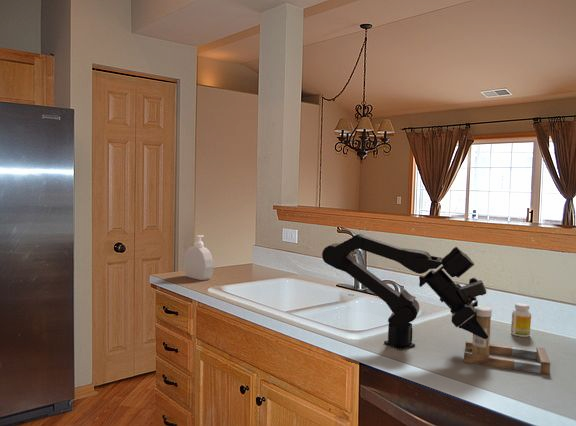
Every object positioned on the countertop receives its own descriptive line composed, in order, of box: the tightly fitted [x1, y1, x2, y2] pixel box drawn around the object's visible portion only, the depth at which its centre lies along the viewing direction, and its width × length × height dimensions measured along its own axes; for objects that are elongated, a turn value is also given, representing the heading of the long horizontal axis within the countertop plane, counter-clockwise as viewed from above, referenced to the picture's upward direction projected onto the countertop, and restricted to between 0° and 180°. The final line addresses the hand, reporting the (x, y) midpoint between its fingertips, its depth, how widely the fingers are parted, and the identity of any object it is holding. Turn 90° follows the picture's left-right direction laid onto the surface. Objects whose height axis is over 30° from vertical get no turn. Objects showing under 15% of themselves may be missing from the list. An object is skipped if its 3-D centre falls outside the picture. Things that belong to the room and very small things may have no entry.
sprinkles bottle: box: [471, 305, 493, 356], centre depth 131 cm, size 5×5×13 cm
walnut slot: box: [463, 340, 551, 375], centre depth 130 cm, size 20×12×3 cm, turn 68°
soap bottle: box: [183, 234, 215, 281], centre depth 227 cm, size 16×5×20 cm, turn 49°
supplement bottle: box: [510, 302, 532, 338], centre depth 152 cm, size 5×5×10 cm
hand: (486, 333), depth 131 cm, fingers open, 9 cm apart
